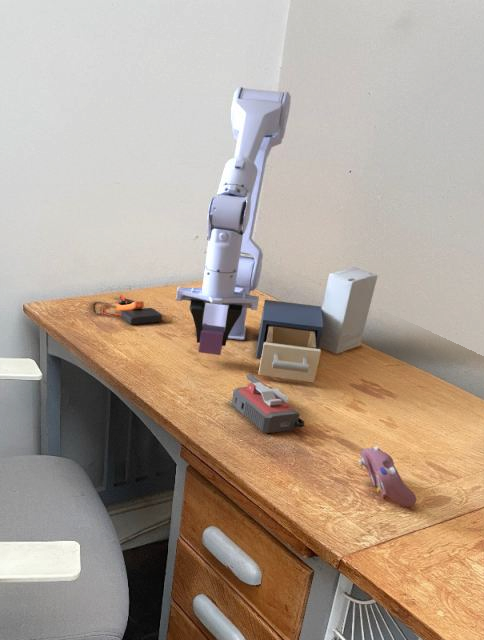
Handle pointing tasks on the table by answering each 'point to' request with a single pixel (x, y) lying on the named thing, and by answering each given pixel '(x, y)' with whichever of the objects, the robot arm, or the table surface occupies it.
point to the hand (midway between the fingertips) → (211, 342)
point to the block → (211, 339)
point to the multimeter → (135, 312)
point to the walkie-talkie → (266, 407)
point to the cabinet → (289, 319)
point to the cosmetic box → (346, 308)
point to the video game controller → (386, 476)
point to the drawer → (290, 354)
